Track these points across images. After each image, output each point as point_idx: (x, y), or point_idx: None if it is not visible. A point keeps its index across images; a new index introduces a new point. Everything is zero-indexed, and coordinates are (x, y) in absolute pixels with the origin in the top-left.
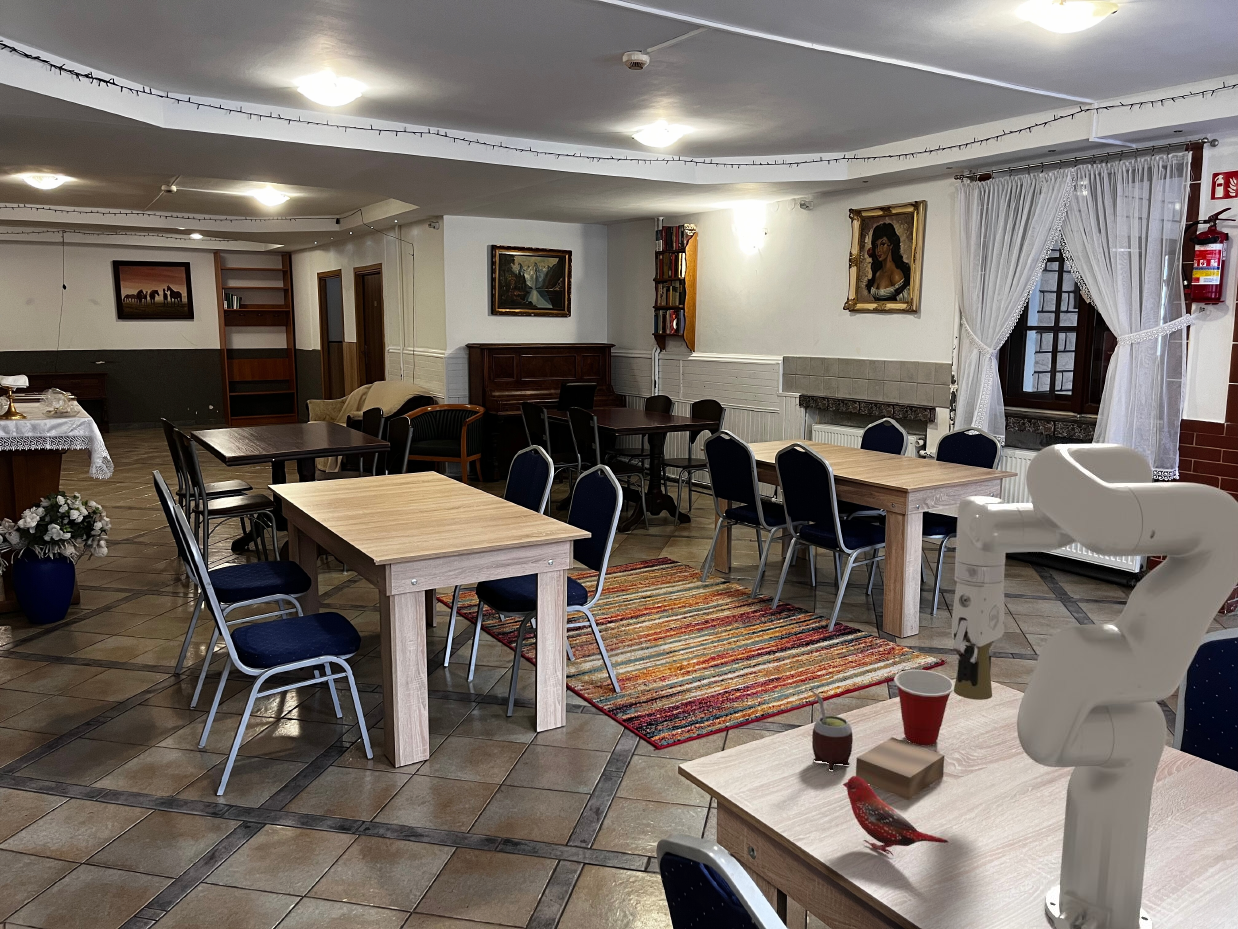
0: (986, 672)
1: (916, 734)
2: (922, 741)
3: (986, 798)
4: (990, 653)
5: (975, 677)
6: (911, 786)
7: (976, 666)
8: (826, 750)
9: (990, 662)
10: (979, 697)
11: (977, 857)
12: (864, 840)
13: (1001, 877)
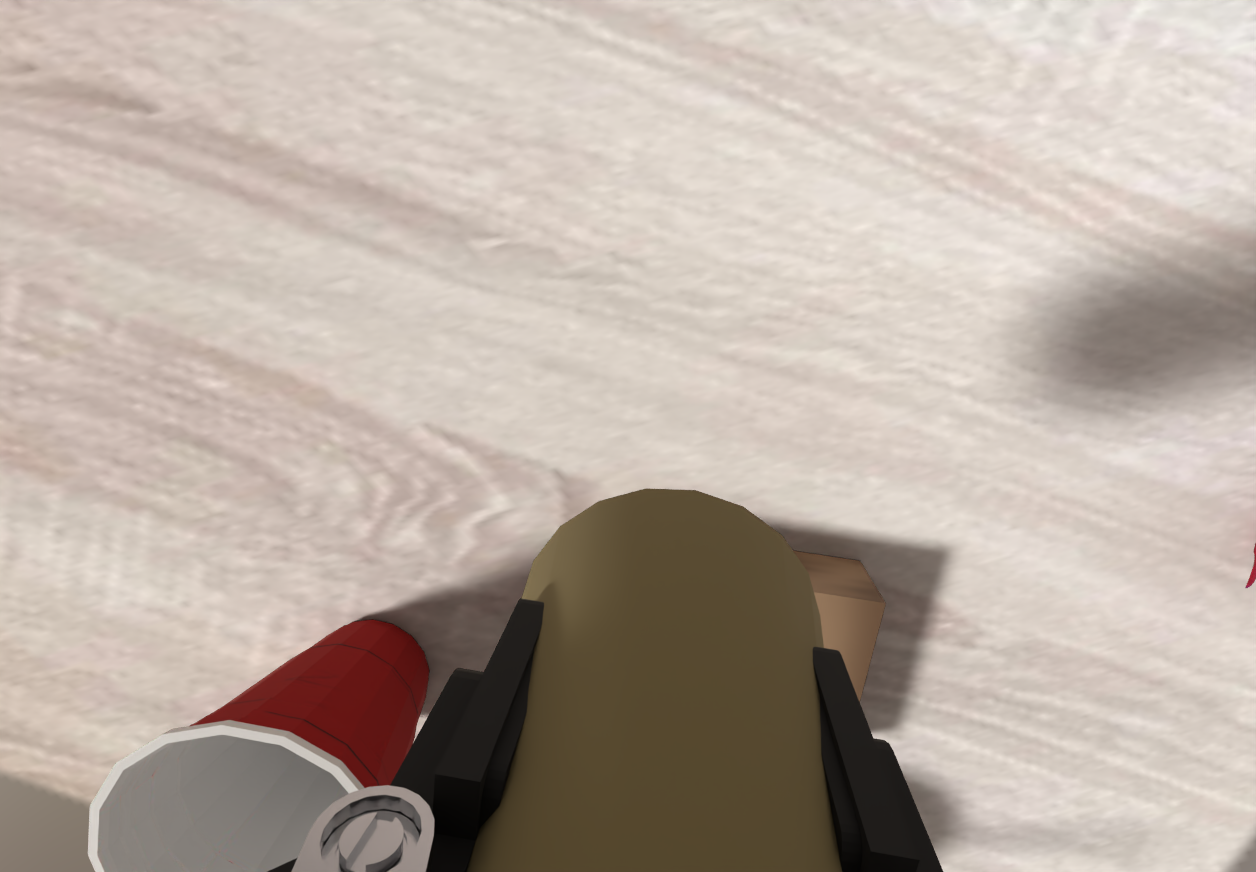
0: (734, 661)
1: (419, 692)
2: (419, 658)
3: (674, 352)
4: (362, 810)
5: (857, 714)
6: (857, 580)
7: (903, 822)
8: None
9: (475, 710)
10: (793, 561)
11: (1143, 248)
12: (1251, 584)
13: (1249, 133)
